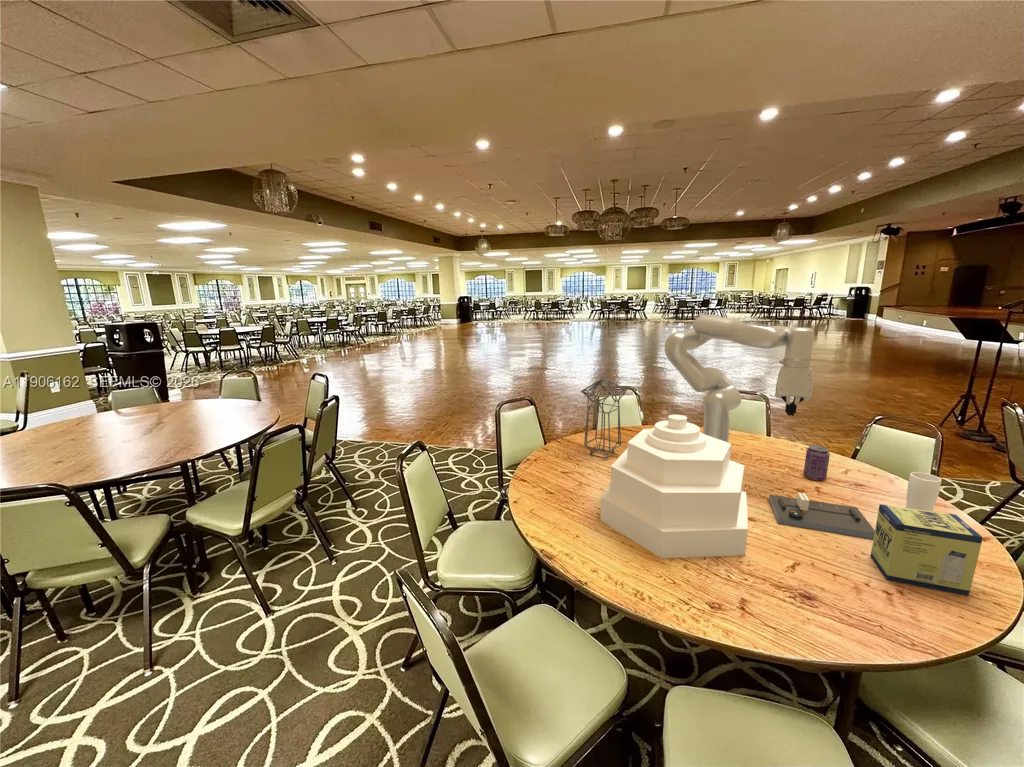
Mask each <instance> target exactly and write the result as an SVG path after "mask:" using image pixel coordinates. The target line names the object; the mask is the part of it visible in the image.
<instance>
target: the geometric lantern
mask: <svg viewBox="0 0 1024 767" xmlns="http://www.w3.org/2000/svg"><path fill="white" fill-rule="evenodd" d="M603 384H604V385H603ZM615 386H617V387H618V388H616V387H615ZM598 388H599V389H598ZM597 389H598V391H597ZM601 389H603V390H604V391H605V392H606V395H599V393H600V390H601ZM590 391H591V392H590ZM596 391H597V393H596ZM614 391H615V392H614ZM627 391H628V390H627V389H626V388H625V387H623V386H620V385H619V384H617V383H615V382H613V381H612V380H610V379H608V378H606V377H603V378H600V379H599V380H597V381H595V382H594V383H592V384H590V385H589V386H587V387H585V388H583V389H582V390H580V393H581V394H583V395H584V396H585V397H587V406H586V409H587V412H586V414H587V415H586V424H585V433H584V441H583V442H584V443H583V444H584V446H585V447H586V449H589V451H590V452H589V455H591V456H593V457H597V458H602V459H608V458H610V457H611V456H612V455H614V454H615V450H616V449H618V448H619V447H621V446H622V435H621V434H622V433H621V430H622V429H621V410H620V408H621V406H620V400H621V399H622V397H624V395H625V394H626V393H627ZM595 393H596V395H595ZM592 397H595V400H594V399H592ZM610 397H611V399H612V400H613V404H610V403H609V404H608V403H605V401H606V400H607V399H608V398H610ZM598 398H601V399H598ZM601 401H602V402H601ZM590 402H591V404H589V403H590ZM595 402H596V403H595ZM593 403H594V404H593ZM616 403H617V405H615V404H616ZM589 405H590V406H589ZM595 405H597V410H596V409H593V408H592V409H591V407H594V406H595ZM604 405H606V406H609V407H610V406H611V408H610V409H609V411H607V412H606V411H605V409H604ZM614 407H615V409H613V408H614ZM600 409H601V411H600ZM612 409H613V410H612ZM589 411H593V412H596V413H597V414H596V427H595V436H594V438H592V439H591V440H589V441H588V434H589V432H588V431H589V415H590V414H589V413H590V412H589ZM615 411H617V441H616V440H613V439H611V429H610V428H611V427H610V426H611V424H610V420H611V419H610V413H612V412H615ZM599 413H601V421H600V422H601V425H600V428H601V429H600V430H601V431H600V437H598V425H599ZM606 414H607V420H608V421H607V423H608V424H607V425H608V426H607V427H608V438H605V437H606V436H605V433H606V430H605V428H606ZM597 439H599V444H598V440H597ZM605 440H606V441H608V446H607V445H605ZM593 441H595V442H596V445H595V446H594V447H592V446H589V445H588V444H590V443H591V442H593ZM601 442H603V443H602V445H601ZM611 442H612V443H616V444H615V445H614V446H613V447H612V446H611ZM601 447H602V448H601ZM605 448H607V449H608V450H606V449H605ZM594 453H596V454H594ZM597 453H598V454H601V455H604V456H600V455H597ZM610 453H611V454H610ZM609 454H610V455H609Z"/></svg>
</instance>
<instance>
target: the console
mask: <svg viewBox="0 0 1024 767" xmlns="http://www.w3.org/2000/svg"><path fill="white" fill-rule="evenodd" d="M768 502H769V505H770V507H771V509H772V512H773V514H774V517H775V520H776V521H777V524H778V525H784V526H791V527H797V528H803V529H809V530H816V531H821V532H828V533H833V534H837V535H845V536H850V537H857V538H862V539H867V540H873V539H874V534H875V528H874V527H873V526H872V524H870V522H869V521H868V520H867V519H866V517H865V516H864V515H863V514H862V512H861V510H860V509H859V508H858V507H857V506H852V505H843V504H837V503H831V502H830V503H829V502H825V501H824V502H823V501H819V500H818V501H816V500H810V499H809V506H808V511H806V510H800V508H799V506H798V504H797V497H789V496H783V495H775V494H769V495H768Z"/></svg>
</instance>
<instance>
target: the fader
mask: <svg viewBox="0 0 1024 767" xmlns="http://www.w3.org/2000/svg"><path fill="white" fill-rule="evenodd" d="M796 498H797V504H798V506H799V508H800V510H806V511H808V506H809V500H810V499H809V498H808V496H807V494H806V493H804V492H797V497H796Z"/></svg>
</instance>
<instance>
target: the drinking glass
mask: <svg viewBox="0 0 1024 767" xmlns="http://www.w3.org/2000/svg"><path fill="white" fill-rule="evenodd" d="M941 484H942V478H940V477H938V476H936V475H933V474H931V473H927V472H919V471H913V472H910V474H909V478H908V482H907V489H906V490H907V491H906V504H905V505H906V506H905V508H910V509H917V510H925V511H932V512H934V508H935V505H936V502H937V500H938V497H939V494H940V490H941V486H942V485H941Z"/></svg>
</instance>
